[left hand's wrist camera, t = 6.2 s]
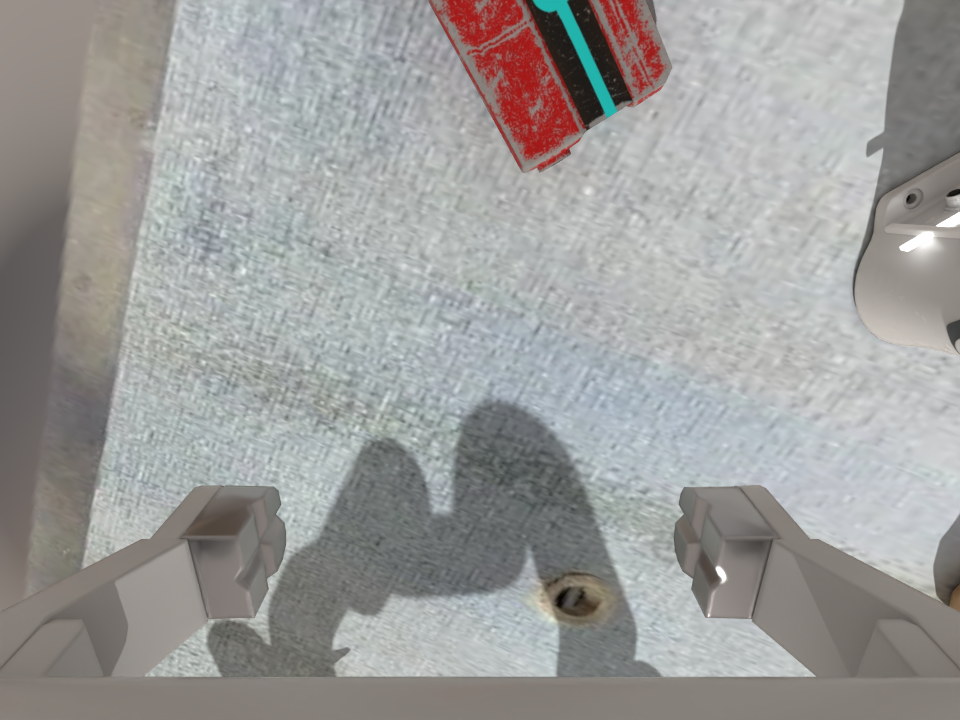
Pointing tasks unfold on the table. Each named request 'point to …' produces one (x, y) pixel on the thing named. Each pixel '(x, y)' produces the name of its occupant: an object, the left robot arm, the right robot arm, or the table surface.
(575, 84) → the gun
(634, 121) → the table surface
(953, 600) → the squash
